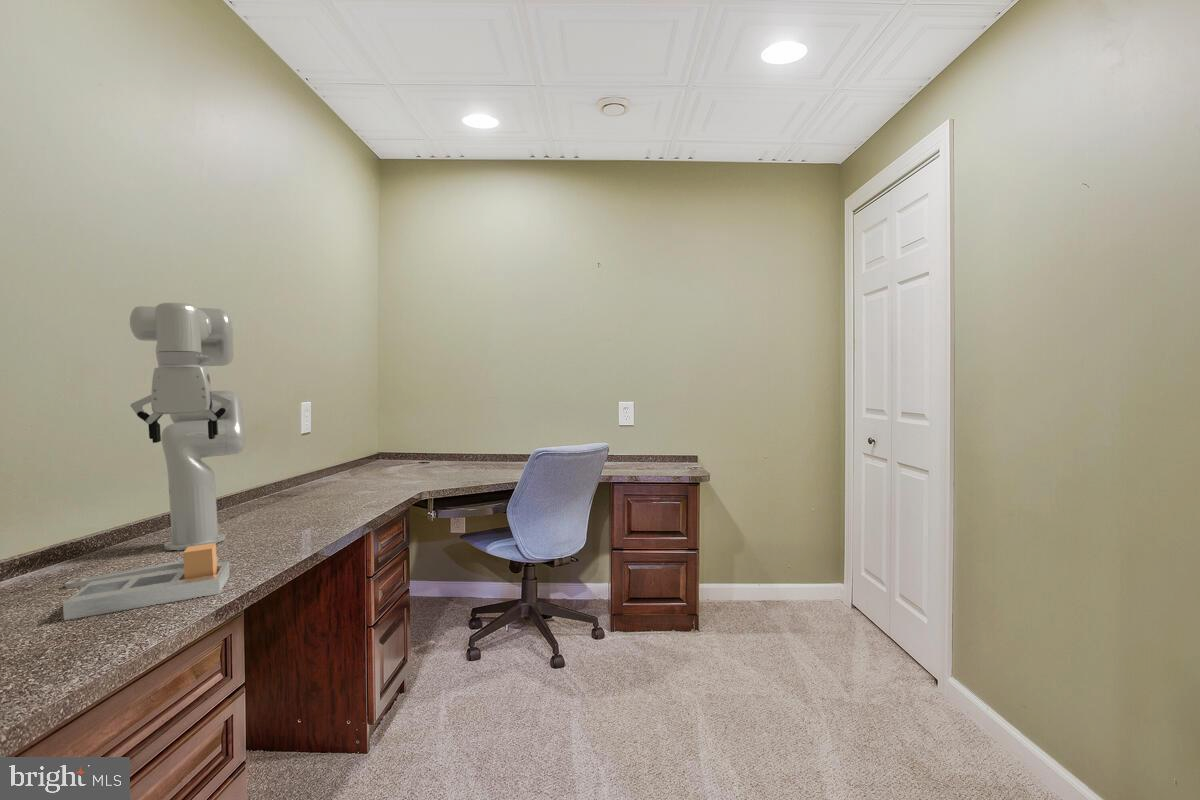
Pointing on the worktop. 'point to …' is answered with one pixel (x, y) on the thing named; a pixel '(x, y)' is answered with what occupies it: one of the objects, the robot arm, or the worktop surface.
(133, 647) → the worktop surface
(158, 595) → the grey compartment tray
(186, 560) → the rectangular block
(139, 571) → the grey slotted rack
